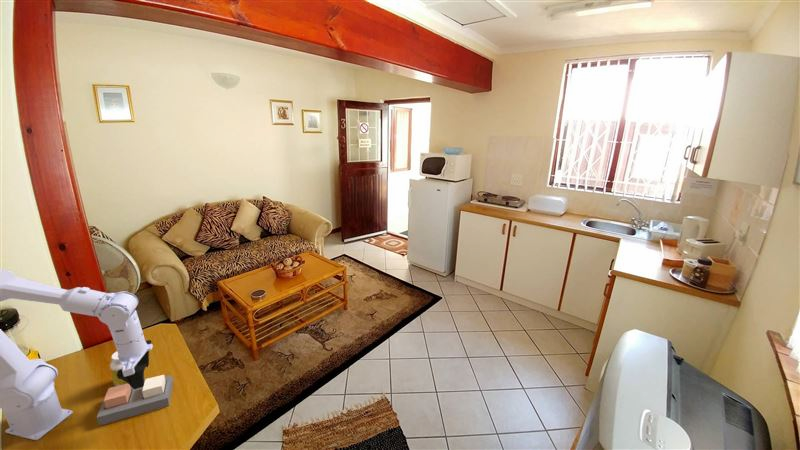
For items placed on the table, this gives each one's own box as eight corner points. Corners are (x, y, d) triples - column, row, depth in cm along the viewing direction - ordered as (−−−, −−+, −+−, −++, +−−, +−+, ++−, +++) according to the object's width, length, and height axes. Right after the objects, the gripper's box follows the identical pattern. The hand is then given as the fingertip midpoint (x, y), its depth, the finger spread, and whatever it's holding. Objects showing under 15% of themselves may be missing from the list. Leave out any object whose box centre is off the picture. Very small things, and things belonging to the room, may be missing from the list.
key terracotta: (106, 409, 82) (103, 400, 81) (111, 396, 86) (108, 388, 85) (127, 403, 84) (125, 395, 83) (131, 391, 88) (129, 383, 87)
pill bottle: (126, 393, 90) (119, 363, 86) (109, 387, 91) (101, 358, 87) (146, 377, 96) (140, 348, 92) (130, 372, 97) (124, 344, 93)
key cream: (144, 399, 86) (142, 390, 85) (147, 387, 89) (145, 379, 88) (163, 394, 88) (161, 385, 87) (165, 382, 92) (164, 374, 91)
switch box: (99, 425, 80) (96, 417, 79) (109, 398, 88) (107, 390, 87) (169, 405, 88) (167, 397, 87) (173, 382, 95) (171, 374, 94)
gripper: (143, 350, 75) (155, 390, 80) (152, 317, 87) (162, 354, 92) (105, 360, 72) (120, 402, 77) (120, 324, 84) (132, 362, 88)
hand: (141, 376), depth 84 cm, fingers open, 7 cm apart
